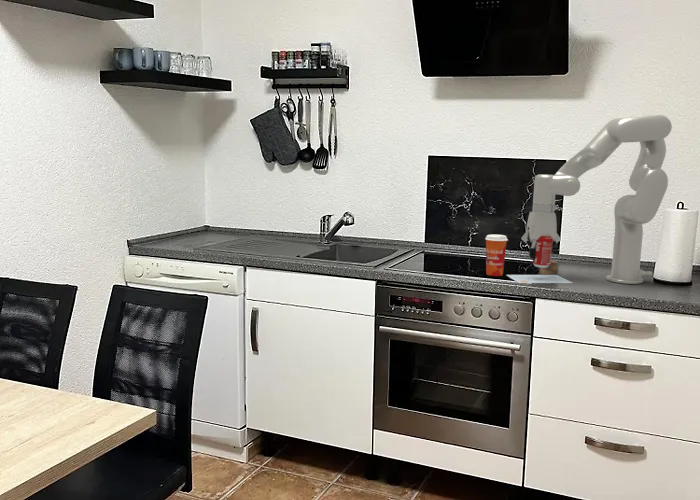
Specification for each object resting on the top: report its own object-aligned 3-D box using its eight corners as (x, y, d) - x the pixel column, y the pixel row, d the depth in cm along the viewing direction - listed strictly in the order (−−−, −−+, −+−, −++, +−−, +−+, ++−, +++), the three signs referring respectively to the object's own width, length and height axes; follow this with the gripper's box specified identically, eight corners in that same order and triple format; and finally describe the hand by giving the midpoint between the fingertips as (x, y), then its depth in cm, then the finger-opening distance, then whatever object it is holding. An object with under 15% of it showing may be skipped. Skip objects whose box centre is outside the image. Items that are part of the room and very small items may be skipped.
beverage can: (536, 263, 258) (539, 231, 256) (552, 266, 254) (556, 234, 252) (529, 266, 253) (532, 233, 251) (545, 269, 250) (549, 236, 247)
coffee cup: (479, 275, 260) (481, 235, 257) (488, 272, 267) (490, 233, 264) (501, 278, 255) (503, 237, 253) (509, 275, 262) (511, 235, 260)
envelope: (556, 275, 263) (556, 275, 263) (573, 283, 248) (573, 283, 248) (505, 275, 261) (505, 274, 261) (519, 283, 246) (519, 282, 246)
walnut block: (551, 273, 269) (552, 260, 268) (557, 275, 264) (558, 262, 263) (539, 273, 268) (540, 260, 268) (544, 275, 263) (545, 262, 263)
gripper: (561, 208, 255) (557, 257, 258) (516, 207, 253) (513, 256, 256) (570, 210, 248) (566, 260, 250) (524, 209, 246) (520, 260, 249)
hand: (539, 258), depth 253 cm, fingers closed on beverage can, 4 cm apart
